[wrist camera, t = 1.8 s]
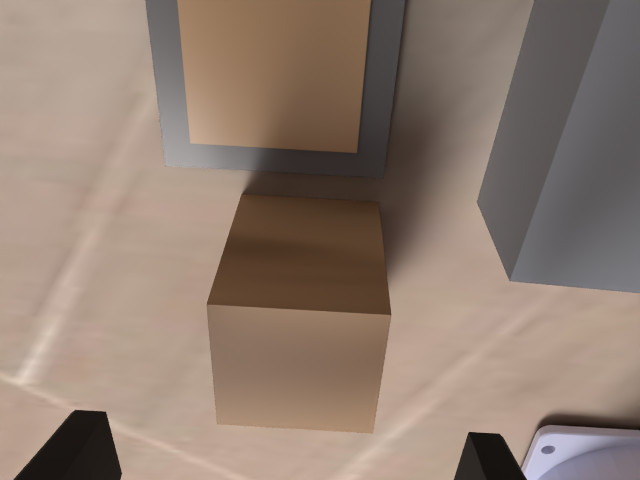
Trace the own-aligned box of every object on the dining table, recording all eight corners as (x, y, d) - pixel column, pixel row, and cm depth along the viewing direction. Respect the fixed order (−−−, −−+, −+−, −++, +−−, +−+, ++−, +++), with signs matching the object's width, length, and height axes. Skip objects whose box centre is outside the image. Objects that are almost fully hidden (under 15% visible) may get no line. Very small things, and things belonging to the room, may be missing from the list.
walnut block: (365, 305, 18) (372, 433, 14) (245, 299, 18) (217, 424, 14) (378, 201, 16) (391, 314, 12) (241, 193, 16) (206, 304, 12)
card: (382, 171, 15) (383, 181, 15) (169, 159, 15) (163, 168, 15) (412, -75, 12) (415, -72, 12) (140, -89, 12) (131, -88, 12)
